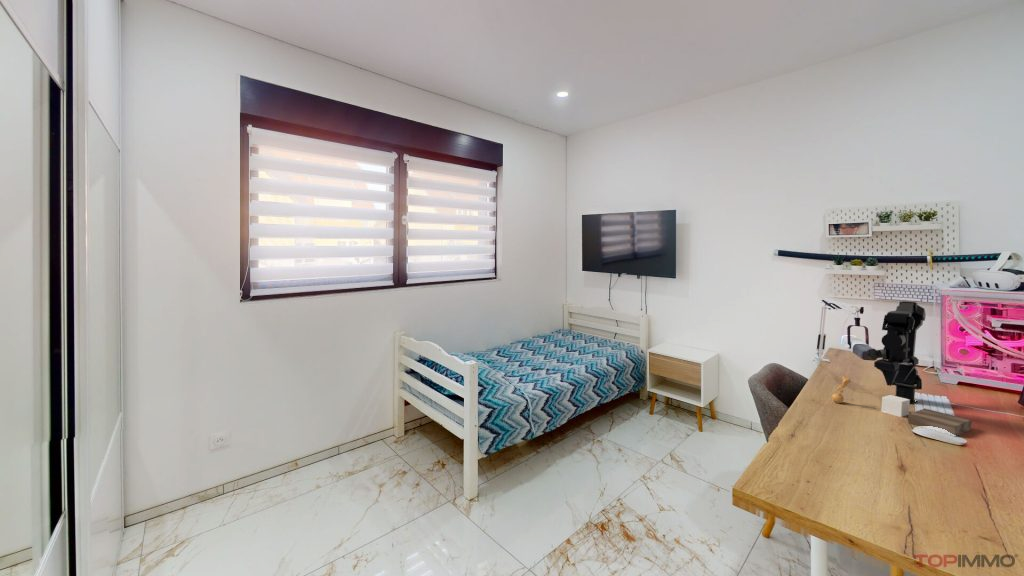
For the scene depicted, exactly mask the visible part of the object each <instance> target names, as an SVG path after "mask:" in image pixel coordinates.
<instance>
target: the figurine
mask: <svg viewBox="0 0 1024 576" xmlns="http://www.w3.org/2000/svg"><path fill="white" fill-rule="evenodd" d="M841 379H842V382H841V384H839V386H838V387H837V390H838V391H839V392H837V393H833V394H831V400H832V401H833V402H834V403H836V404H837V403H838V404H840V403H843V402H844V400H845V399H844V396H843V394H842V393H844V388H846V387H847V385H849V384H850V383H851V379H850V378H848V377H847V376H845V375H843V376H841Z"/></svg>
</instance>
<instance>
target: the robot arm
mask: <svg viewBox="0 0 1024 576" xmlns="http://www.w3.org/2000/svg"><path fill="white" fill-rule="evenodd" d="M924 321H926V309H925V308H924V307H922V306H920V305H919V304H918V302H915V301H910V300H909V301H907V300H906V301H905V300H902V301H899V304H898V306H896V309H895V310H890V311H888V312H887V313H886V314H885V315H884V318H883V322H882V327H881V330H882V331H887V332H886V334H884V335H883V336H882V337H881V343H882V345H883V346H884V347H883V349H875V348H870V349H869V348H868V349H867V351H866V356H867V357H869V359H870V360H874V359H876V360H875V361H873V362H874V363H873V367H874V368H876V369H877V370H879V371H880V372H881V373H882V374H883V378H884V379H885V383H886V386H890V387H891V386H895V395H894V396H897V397H901V398H905V399H910V404H911V405H912V404H915V403H916V402H915V400H916V399H915V397H916V394H915V391H916V390H919V391H920V390H922V389H923V380H922V378H921V376H920V374H919V371H918V369H917V368H916V367H917V365H919V359H918V357H916V356H915V351H916V340H917V330H919V328H921V327H922V326H923V323H924Z"/></svg>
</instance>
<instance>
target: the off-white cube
mask: <svg viewBox="0 0 1024 576" xmlns="http://www.w3.org/2000/svg"><path fill="white" fill-rule="evenodd" d="M881 412H882V413H886V414H889V415H892V416H895V417H900V418H903V417H905V416H909V414H910V399H905V398H901V397H897V396H895V395H894V394H893V395H892V394H889V395H885V396H884V395H883V396H882V397H881Z"/></svg>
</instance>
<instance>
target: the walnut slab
mask: <svg viewBox="0 0 1024 576" xmlns="http://www.w3.org/2000/svg"><path fill="white" fill-rule="evenodd" d="M907 418H908V420H907V423H908V424H910V425H913V426H916V427H919V426H933V427H938V428H942V429H945V430H947V431H948V432H950V433H952V434H954V435H957V436H959V435H962V434H964V433H966V432H969V431H971V429H972V420H971V419H969V418H965V417H960V416H958V415H957V416H956V415H953V414H949V413H945V412H942V411H941V412H940V411H938V410H937V411H936V410H933V409H929V408H922V409H919V410H915V411H913V412H909V415H908V417H907Z"/></svg>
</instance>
